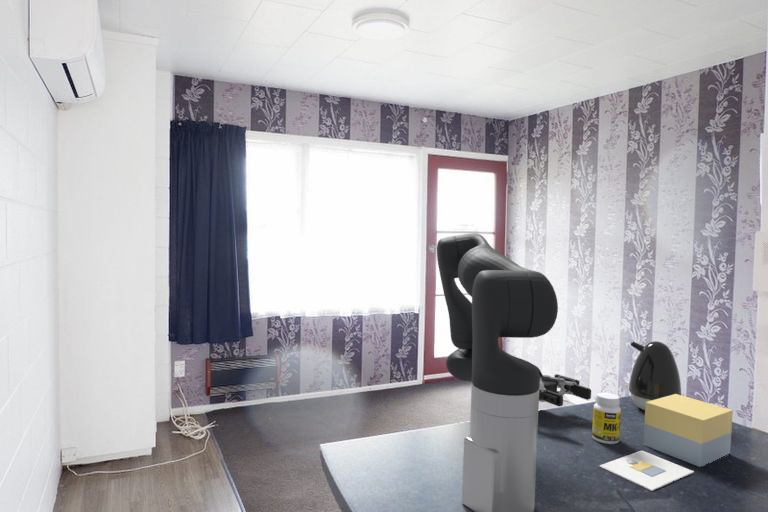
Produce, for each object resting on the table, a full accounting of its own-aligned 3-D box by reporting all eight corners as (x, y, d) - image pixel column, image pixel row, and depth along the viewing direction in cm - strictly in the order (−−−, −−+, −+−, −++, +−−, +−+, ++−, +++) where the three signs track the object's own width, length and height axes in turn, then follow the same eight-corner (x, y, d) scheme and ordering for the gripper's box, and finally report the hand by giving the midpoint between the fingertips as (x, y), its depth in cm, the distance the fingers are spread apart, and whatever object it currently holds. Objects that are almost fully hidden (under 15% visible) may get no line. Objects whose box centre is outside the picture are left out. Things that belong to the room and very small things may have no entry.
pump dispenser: (633, 398, 121) (636, 334, 120) (683, 409, 114) (687, 341, 114) (621, 409, 113) (625, 341, 112) (675, 422, 106) (679, 349, 106)
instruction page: (651, 491, 78) (651, 489, 78) (599, 466, 85) (599, 464, 85) (693, 472, 84) (694, 470, 84) (641, 451, 92) (641, 449, 92)
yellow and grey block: (700, 467, 86) (703, 420, 86) (643, 444, 95) (645, 402, 94) (729, 454, 91) (732, 410, 91) (673, 434, 100) (675, 393, 99)
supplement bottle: (603, 445, 94) (605, 400, 93) (586, 435, 98) (588, 392, 98) (625, 443, 95) (627, 398, 95) (607, 433, 100) (609, 390, 99)
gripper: (492, 364, 112) (553, 384, 98) (537, 356, 119) (599, 374, 106) (491, 398, 112) (551, 422, 98) (536, 388, 120) (598, 410, 106)
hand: (576, 397), depth 102 cm, fingers open, 8 cm apart
